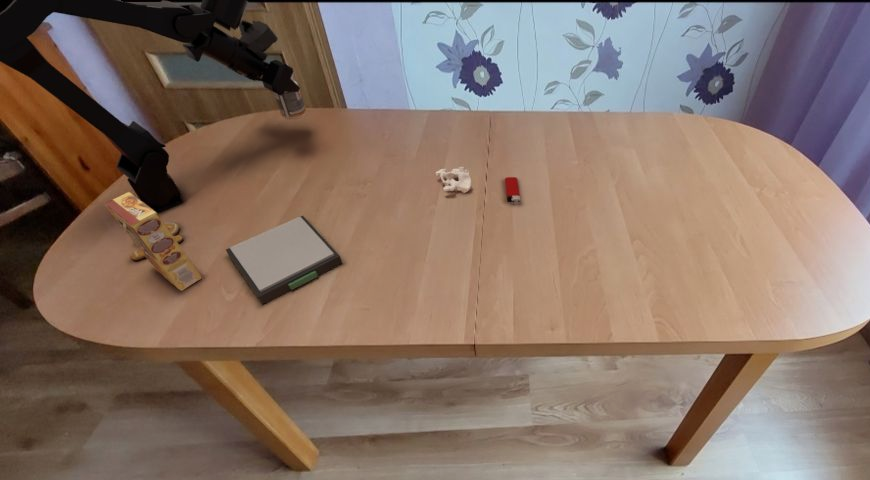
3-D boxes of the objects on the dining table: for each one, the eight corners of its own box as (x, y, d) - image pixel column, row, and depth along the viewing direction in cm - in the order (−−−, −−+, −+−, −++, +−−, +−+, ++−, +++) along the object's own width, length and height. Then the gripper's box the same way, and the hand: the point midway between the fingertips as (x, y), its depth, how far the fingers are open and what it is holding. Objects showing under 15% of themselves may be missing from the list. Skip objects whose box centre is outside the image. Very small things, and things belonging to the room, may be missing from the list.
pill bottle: (309, 109, 113) (297, 68, 106) (302, 121, 109) (290, 79, 102) (286, 108, 113) (272, 67, 106) (278, 120, 109) (263, 78, 102)
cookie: (122, 258, 84) (145, 221, 91) (125, 261, 85) (148, 225, 92) (169, 256, 85) (189, 220, 92) (172, 259, 86) (192, 223, 92)
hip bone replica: (433, 164, 102) (462, 156, 103) (436, 180, 105) (464, 172, 106) (443, 184, 96) (473, 176, 98) (446, 200, 100) (475, 192, 101)
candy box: (203, 278, 83) (158, 211, 71) (180, 292, 80) (130, 225, 69) (176, 257, 86) (129, 190, 75) (153, 270, 84) (101, 203, 73)
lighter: (517, 177, 103) (520, 199, 98) (517, 181, 104) (520, 204, 99) (504, 177, 103) (507, 199, 98) (504, 182, 104) (507, 204, 99)
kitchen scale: (263, 306, 79) (258, 296, 77) (229, 257, 86) (223, 247, 85) (343, 265, 86) (340, 255, 84) (305, 223, 93) (301, 213, 91)
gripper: (269, 23, 88) (330, 64, 102) (217, 1, 96) (281, 42, 110) (246, 77, 90) (310, 111, 104) (197, 52, 97) (262, 86, 112)
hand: (291, 85), depth 107 cm, fingers closed on pill bottle, 6 cm apart
